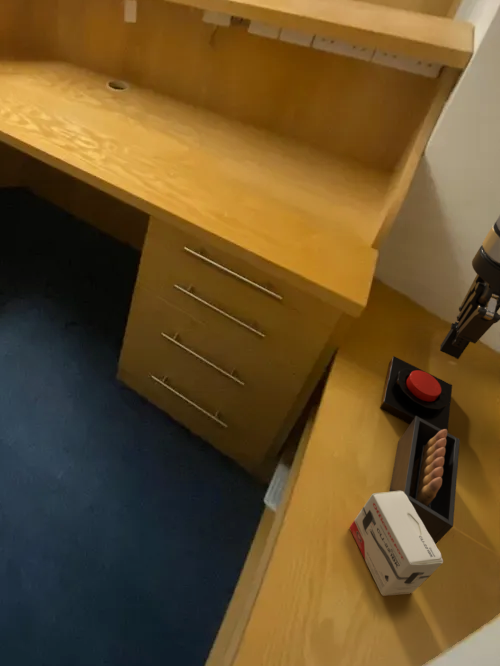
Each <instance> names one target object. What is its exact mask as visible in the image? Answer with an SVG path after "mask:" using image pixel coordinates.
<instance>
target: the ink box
mask: <svg viewBox="0 0 500 666" xmlns="http://www.w3.org/2000/svg"><path fill="white" fill-rule="evenodd" d="M349 530H350V532H351V534H352V536H353V539H354V541H355V543H356V544H357V546H358V549H359V551H360V553H361V555H362V557H363V559H364V561H365V564H366V566H367V567H368V569H369V572H370V574H371V576H372V578H373V580H374V582H375V584H376V587H377V588H378V591H379V592H380V595H382V596H383V597H385V596H386V597H387V596H396V595H397V596H399V595H410V593H411V594H413V593H414V592H415V591H416V590H417V589H418V588H419V587H420V586H421V585H422V584H423V583H425V581H426V580H428V579H429V578H430V577H431V576H432V575H433V573H434V572H436V570H438V568H440V566H441V565H443V564H444V559H443V557H442V553H441V551H440V549H439V548H438V547H437V544H436V545H435V543H434V541H433V539H432V538H431V536H430V534H429V533H428V531H427V530H426V528H425V526H424V524H423V522H422V521H421V519H420V518H419V516H418V514H417V513H416V510H415V509H414V507H413V505H412V504H411V502H410V501H409V499H408V497H407V495H406V494H405V493H404V492H403V491H393V492H389V491H384V492H375V493H372V494H371V495H370V497H369V498H368V499H367V501H366V503H365V504H364V506H362V508H361V509H360V511H359V512H358V514H357V516H356V517H355V518H354V520H353V522H351V524H350V525H349Z"/></svg>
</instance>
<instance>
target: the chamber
mask: <svg viewBox="0 0 500 666" xmlns="http://www.w3.org/2000/svg"><path fill="white" fill-rule="evenodd" d="M439 431H441V429H440V428H438V427H436V426H434V425H432V424H430V423H428V422H427V421H425V420H423V419H421V418H419V417H417V416H416V417H415V418H414V420H413V421H412V423H411V424H408V427H407V428H406V430H405V431H404V433H403V434H402V436H401V437H399V440H398V441H397V446H396V450H395V451H396V453H395V458H394V463H393V469H392V474H391V480H390V486H389V491H388V492H393V491H403V492H404V493H405V494H406V495H407V497H408V499H409V501H410V502H411V504H412V505H413V507H414V509H415V510H416V513H417V514H418V516H419V518H420V519H421V521H422V522H423V524H424V526H425V528H426V530H427V531H428V533H429V534H430V536H431V538H432V539H433V541H434V543H435V545H436V546H437V544H438V543H439V541H441V539H443V538H444V536H446V535H447V533H448V532H449V531H450V530H451V529H452V528H453V527H454V520H455V519H454V518H455V506H456V491H457V482H458V481H457V479H458V468H459V467H458V466H459V453H460V441H461V440H460V438H459V437H456V436H455V435H453V434H451V433H450V432H448V433H447V437H446V446H445V455H444V465H443V475H442V477H441V478H442V485H441V487H440V489H439V490H438V492H437V493H436V496H435V498H434V499H433V500H432V501H431V502H430V507H429V508H428V507H427V506H425V505H424V504H422V503H420V502H419V501H417V500H415V499H414V498H412V497H410V496H409V490H410V484H411V477H412V470H413V463H414V456H415V455H416V454H417V452H418V451H419V450H420V448H421V447H422V446H423V445H426V444H427V443H428V441H429V440H430V439H431V438H433V437H434V436H435V435H436V434H437V433H438V432H439Z"/></svg>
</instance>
